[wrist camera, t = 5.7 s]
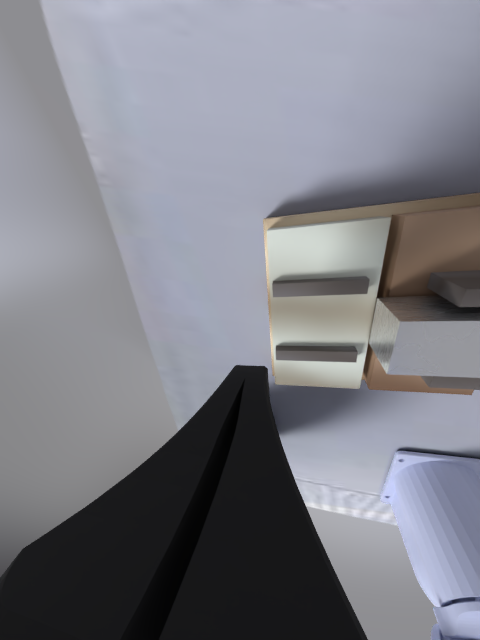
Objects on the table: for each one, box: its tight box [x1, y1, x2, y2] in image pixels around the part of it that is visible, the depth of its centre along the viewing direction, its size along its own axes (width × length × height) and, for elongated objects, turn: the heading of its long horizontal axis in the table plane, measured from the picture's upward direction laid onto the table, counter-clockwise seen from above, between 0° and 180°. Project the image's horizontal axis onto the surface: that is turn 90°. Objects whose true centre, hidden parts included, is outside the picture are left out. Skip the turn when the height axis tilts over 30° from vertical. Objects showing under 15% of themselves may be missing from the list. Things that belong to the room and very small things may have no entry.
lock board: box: [263, 193, 480, 395], centre depth 13 cm, size 12×13×6 cm
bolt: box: [369, 296, 480, 378], centre depth 11 cm, size 3×5×3 cm, turn 97°
